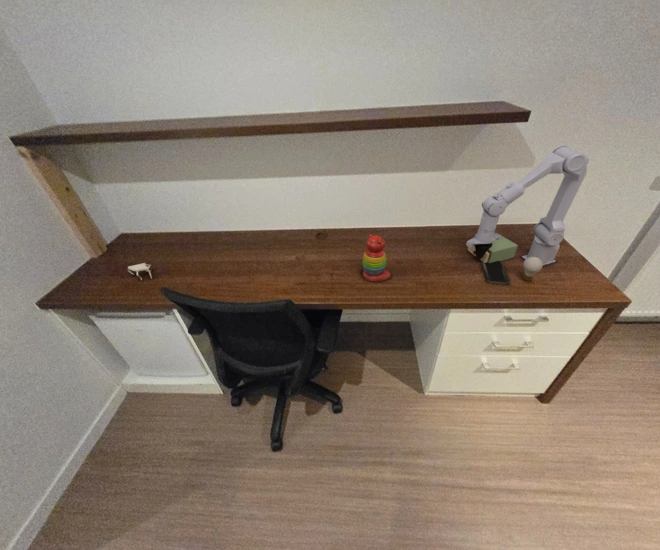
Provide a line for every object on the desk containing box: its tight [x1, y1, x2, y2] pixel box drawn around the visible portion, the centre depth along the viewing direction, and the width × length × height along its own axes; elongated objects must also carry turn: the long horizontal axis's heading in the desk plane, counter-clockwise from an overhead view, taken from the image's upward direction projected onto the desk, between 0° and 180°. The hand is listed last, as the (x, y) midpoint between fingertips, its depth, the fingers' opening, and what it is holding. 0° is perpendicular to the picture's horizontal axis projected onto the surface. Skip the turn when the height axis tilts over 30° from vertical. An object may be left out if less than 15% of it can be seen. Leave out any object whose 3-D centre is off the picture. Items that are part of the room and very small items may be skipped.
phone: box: [480, 260, 510, 286], centre depth 119 cm, size 8×1×15 cm
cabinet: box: [487, 232, 518, 263], centre depth 127 cm, size 12×12×6 cm
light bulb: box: [522, 257, 544, 282], centre depth 111 cm, size 6×6×10 cm
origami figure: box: [127, 262, 153, 281], centre depth 130 cm, size 12×8×5 cm
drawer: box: [467, 245, 491, 263], centre depth 127 cm, size 13×11×4 cm
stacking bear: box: [361, 233, 392, 282], centre depth 117 cm, size 11×10×18 cm
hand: (478, 257), depth 123 cm, fingers closed
